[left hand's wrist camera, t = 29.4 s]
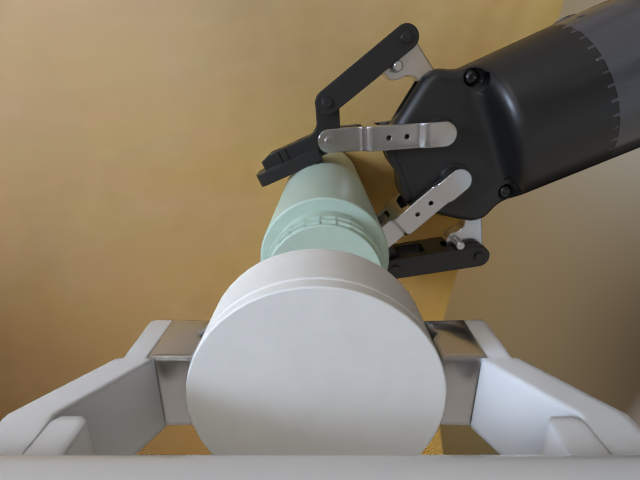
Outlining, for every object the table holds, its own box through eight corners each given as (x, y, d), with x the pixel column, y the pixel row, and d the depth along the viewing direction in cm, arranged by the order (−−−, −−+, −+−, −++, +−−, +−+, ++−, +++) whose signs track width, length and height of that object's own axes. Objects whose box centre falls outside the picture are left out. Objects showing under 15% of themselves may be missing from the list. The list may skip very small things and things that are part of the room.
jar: (370, 182, 29) (427, 285, 13) (322, 225, 30) (320, 366, 14) (326, 132, 28) (329, 179, 12) (277, 178, 29) (221, 276, 13)
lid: (344, 202, 9) (352, 231, 7) (461, 365, 10) (493, 427, 8) (166, 324, 10) (129, 379, 8) (295, 456, 11) (290, 528, 9)
